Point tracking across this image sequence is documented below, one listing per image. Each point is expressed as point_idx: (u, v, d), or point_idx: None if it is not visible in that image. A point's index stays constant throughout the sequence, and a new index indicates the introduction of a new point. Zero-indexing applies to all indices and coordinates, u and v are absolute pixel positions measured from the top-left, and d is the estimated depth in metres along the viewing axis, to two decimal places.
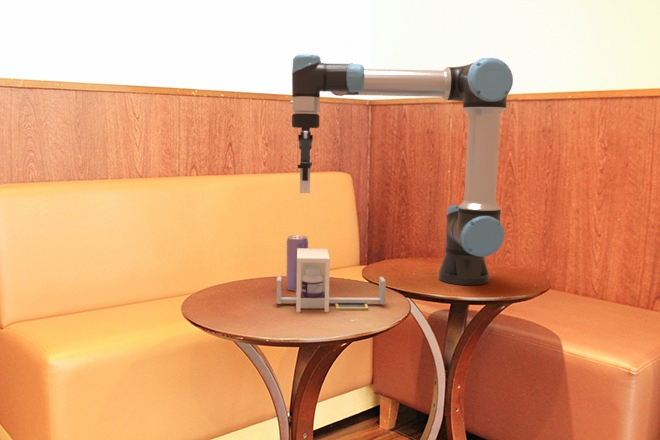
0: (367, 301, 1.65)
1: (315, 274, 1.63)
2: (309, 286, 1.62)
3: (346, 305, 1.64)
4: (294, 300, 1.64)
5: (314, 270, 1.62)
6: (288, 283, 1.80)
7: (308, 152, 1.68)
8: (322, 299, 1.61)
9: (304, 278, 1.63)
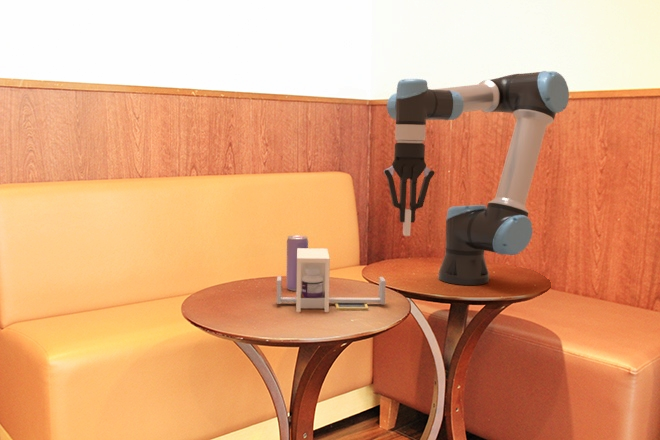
0: (367, 301, 1.65)
1: (315, 274, 1.63)
2: (309, 286, 1.62)
3: (346, 305, 1.64)
4: (294, 300, 1.64)
5: (314, 270, 1.62)
6: (288, 283, 1.80)
7: (391, 193, 1.62)
8: (322, 299, 1.61)
9: (304, 278, 1.63)
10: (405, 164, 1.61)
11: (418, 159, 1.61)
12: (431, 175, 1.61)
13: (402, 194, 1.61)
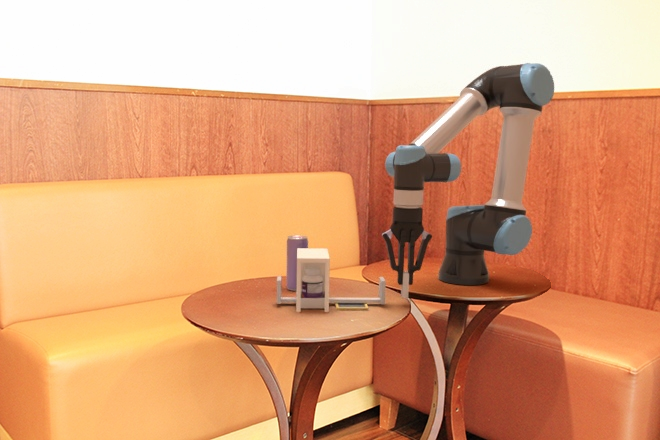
0: (367, 301, 1.65)
1: (315, 274, 1.63)
2: (309, 286, 1.62)
3: (346, 305, 1.64)
4: (294, 300, 1.64)
5: (314, 270, 1.62)
6: (288, 283, 1.80)
7: (389, 256, 1.64)
8: (322, 299, 1.61)
9: (304, 278, 1.63)
10: (403, 228, 1.63)
11: (416, 223, 1.63)
12: (429, 239, 1.63)
13: (400, 257, 1.64)
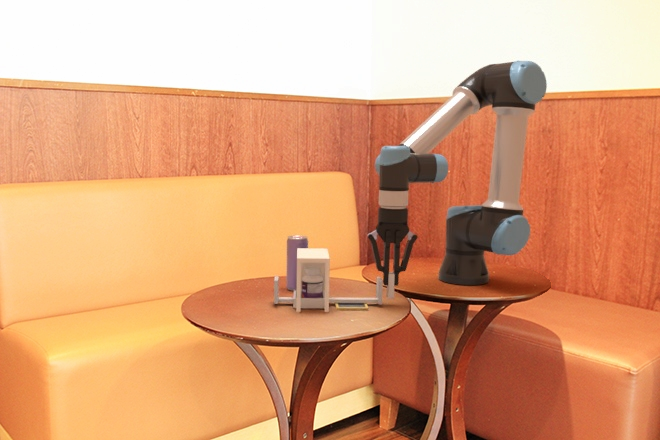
0: (364, 301, 1.65)
1: (315, 274, 1.63)
2: (309, 286, 1.62)
3: (346, 305, 1.64)
4: (291, 300, 1.64)
5: (314, 270, 1.62)
6: (288, 283, 1.80)
7: (374, 257, 1.64)
8: (319, 299, 1.61)
9: (304, 278, 1.63)
10: (388, 229, 1.63)
11: (401, 224, 1.63)
12: (414, 239, 1.63)
13: (385, 258, 1.63)
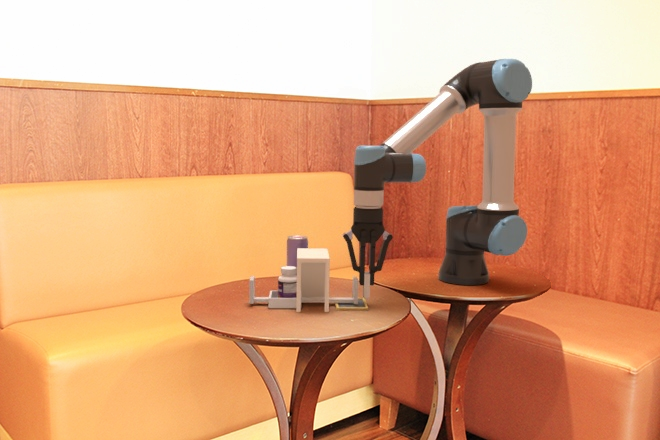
0: (340, 300, 1.65)
1: (291, 274, 1.62)
2: (285, 286, 1.62)
3: (346, 305, 1.64)
4: (267, 300, 1.64)
5: (290, 270, 1.62)
6: None
7: (350, 257, 1.63)
8: (294, 299, 1.61)
9: (280, 278, 1.63)
10: (364, 228, 1.62)
11: (376, 223, 1.62)
12: (389, 239, 1.63)
13: (361, 258, 1.63)
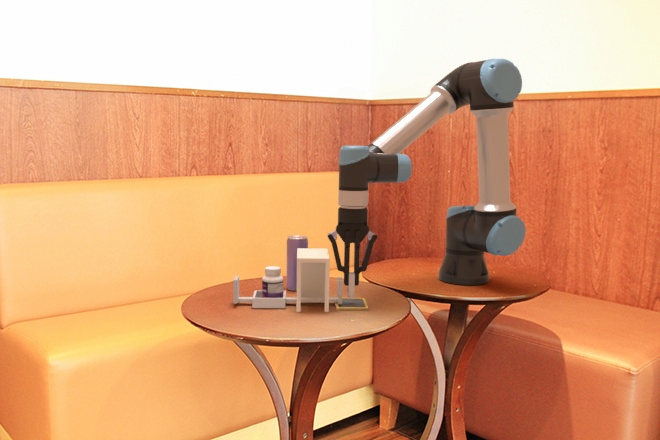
0: (324, 300, 1.64)
1: (275, 274, 1.62)
2: (269, 286, 1.62)
3: (346, 305, 1.64)
4: (251, 300, 1.64)
5: (274, 270, 1.62)
6: (288, 283, 1.80)
7: None
8: (278, 299, 1.61)
9: (264, 278, 1.62)
10: (348, 229, 1.62)
11: (361, 224, 1.62)
12: (374, 239, 1.63)
13: (345, 258, 1.63)
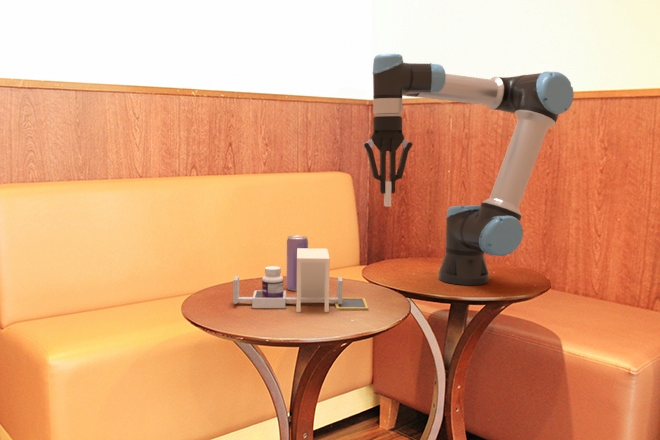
0: (324, 300, 1.64)
1: (275, 274, 1.62)
2: (269, 286, 1.62)
3: (346, 305, 1.64)
4: (251, 300, 1.64)
5: (274, 270, 1.62)
6: (288, 283, 1.80)
7: (371, 166, 1.67)
8: (278, 299, 1.61)
9: (264, 278, 1.62)
10: (384, 137, 1.66)
11: (396, 132, 1.66)
12: (409, 147, 1.67)
13: (382, 166, 1.67)
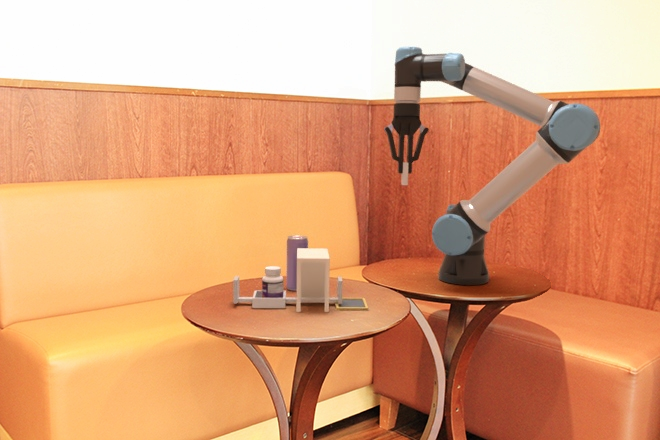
0: (324, 300, 1.64)
1: (275, 274, 1.62)
2: (269, 286, 1.62)
3: (346, 305, 1.64)
4: (251, 300, 1.64)
5: (274, 270, 1.62)
6: (288, 283, 1.80)
7: (390, 148, 1.85)
8: (278, 299, 1.61)
9: (264, 278, 1.62)
10: (403, 122, 1.84)
11: (414, 117, 1.84)
12: (425, 131, 1.85)
13: (400, 148, 1.85)
